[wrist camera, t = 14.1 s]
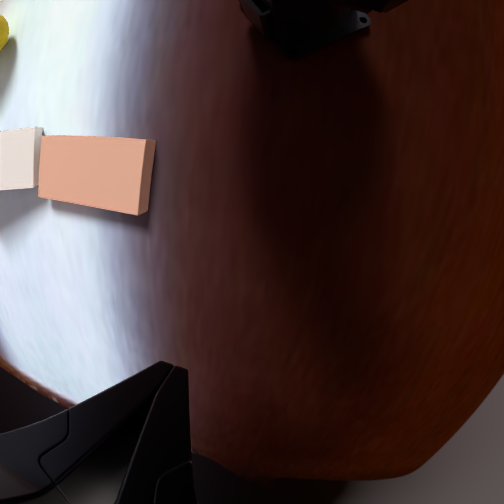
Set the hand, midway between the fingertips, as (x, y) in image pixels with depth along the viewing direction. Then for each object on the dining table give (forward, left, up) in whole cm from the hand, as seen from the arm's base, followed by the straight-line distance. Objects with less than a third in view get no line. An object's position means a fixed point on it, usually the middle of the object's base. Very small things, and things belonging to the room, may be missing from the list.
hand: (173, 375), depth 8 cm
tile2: (+11, -15, -12) cm, 22 cm away
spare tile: (+3, -7, -13) cm, 15 cm away
